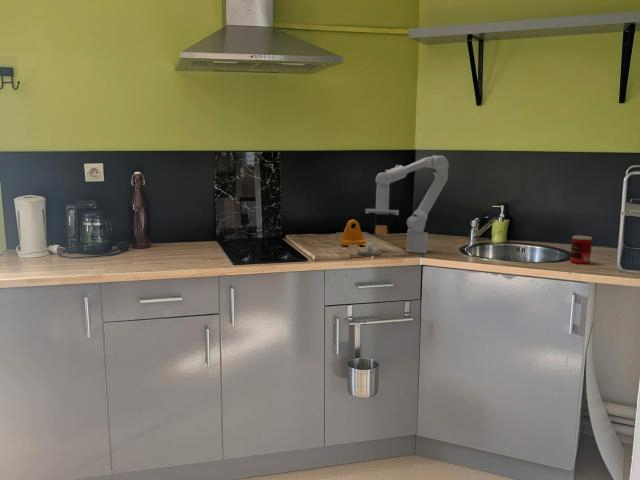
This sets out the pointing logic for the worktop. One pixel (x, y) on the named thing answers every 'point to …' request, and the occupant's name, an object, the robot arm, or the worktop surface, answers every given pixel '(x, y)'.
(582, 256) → the canned food
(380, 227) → the ring
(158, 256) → the worktop surface
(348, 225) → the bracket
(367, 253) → the post block
